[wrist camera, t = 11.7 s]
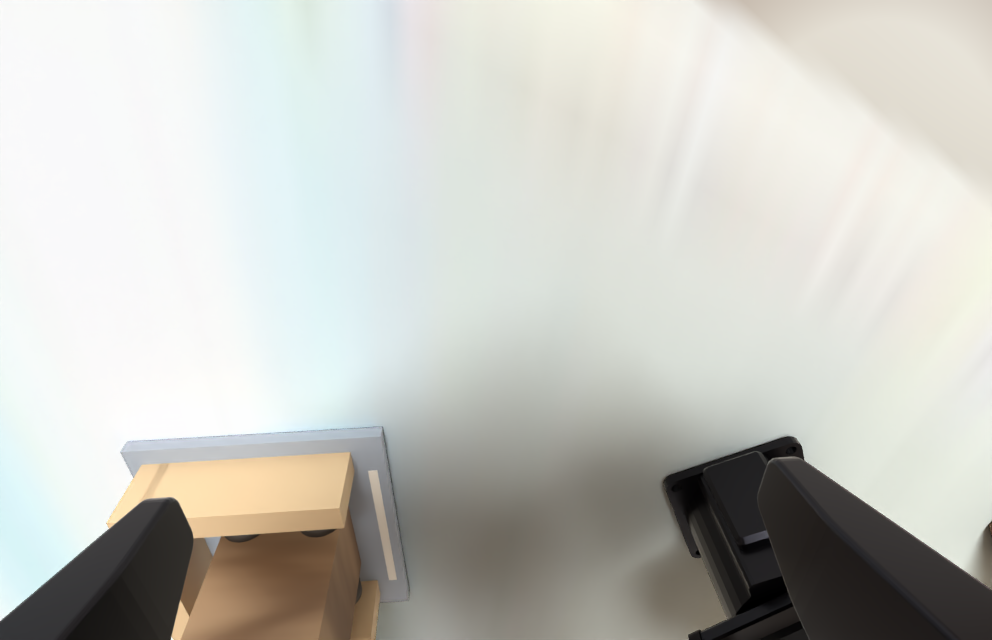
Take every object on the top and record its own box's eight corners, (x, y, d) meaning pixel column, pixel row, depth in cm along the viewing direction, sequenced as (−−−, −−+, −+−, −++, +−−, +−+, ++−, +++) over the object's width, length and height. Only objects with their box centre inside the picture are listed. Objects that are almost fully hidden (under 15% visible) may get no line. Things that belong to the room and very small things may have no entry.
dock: (382, 426, 25) (372, 491, 22) (409, 590, 32) (404, 657, 29) (126, 441, 25) (81, 510, 22) (207, 604, 31) (181, 675, 28)
